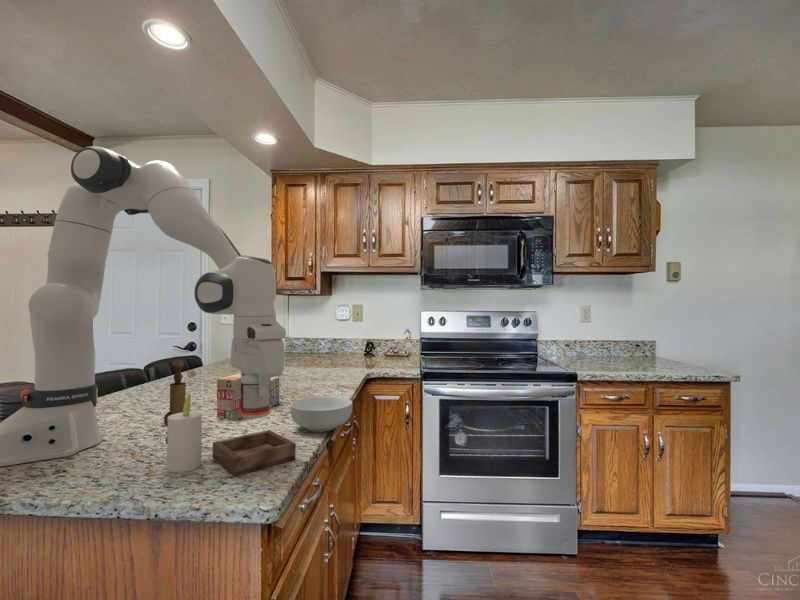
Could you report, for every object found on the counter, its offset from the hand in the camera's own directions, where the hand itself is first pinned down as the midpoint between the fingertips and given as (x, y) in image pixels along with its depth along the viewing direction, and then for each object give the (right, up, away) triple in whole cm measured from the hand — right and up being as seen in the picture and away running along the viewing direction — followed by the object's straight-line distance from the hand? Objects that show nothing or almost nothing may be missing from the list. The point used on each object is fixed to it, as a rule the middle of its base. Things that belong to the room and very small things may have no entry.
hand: (255, 392), depth 87 cm
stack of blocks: (-16, -16, +40) cm, 46 cm away
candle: (-13, -15, -4) cm, 20 cm away
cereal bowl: (+10, -15, +22) cm, 29 cm away
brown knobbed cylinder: (-33, -15, +27) cm, 45 cm away
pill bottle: (0, -5, 0) cm, 5 cm away
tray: (0, -14, 0) cm, 14 cm away
